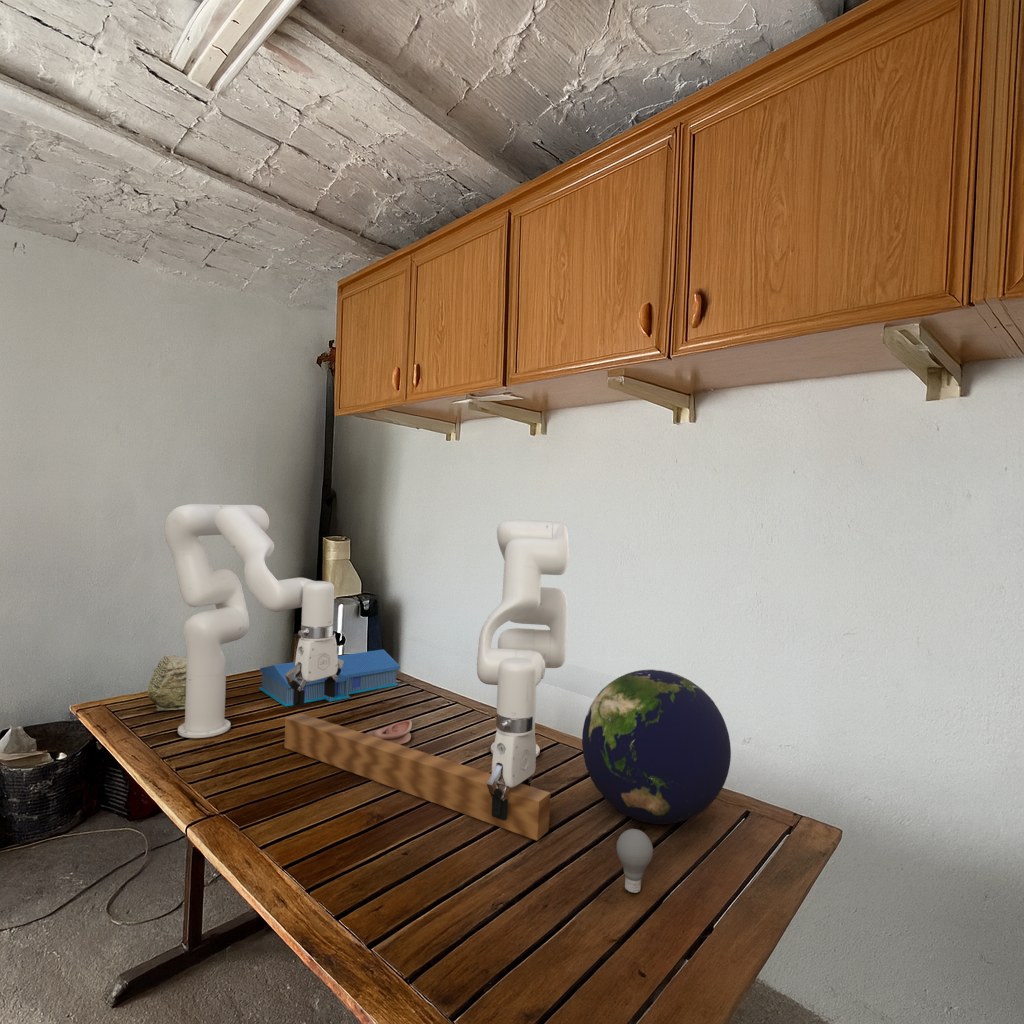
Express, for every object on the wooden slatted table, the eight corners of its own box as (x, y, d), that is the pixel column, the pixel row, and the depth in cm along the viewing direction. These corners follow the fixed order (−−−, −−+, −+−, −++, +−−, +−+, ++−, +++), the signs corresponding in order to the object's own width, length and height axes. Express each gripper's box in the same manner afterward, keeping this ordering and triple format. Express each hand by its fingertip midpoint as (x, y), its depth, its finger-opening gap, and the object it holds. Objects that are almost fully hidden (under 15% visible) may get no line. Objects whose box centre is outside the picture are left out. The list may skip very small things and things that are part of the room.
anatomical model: (352, 728, 162) (370, 714, 173) (351, 744, 162) (370, 728, 173) (400, 734, 159) (416, 719, 171) (400, 750, 159) (416, 734, 171)
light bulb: (610, 879, 108) (613, 822, 108) (644, 879, 109) (647, 822, 109) (619, 902, 102) (622, 840, 102) (655, 901, 103) (658, 840, 103)
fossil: (144, 707, 182) (145, 655, 182) (212, 696, 194) (213, 647, 194) (151, 716, 175) (153, 662, 175) (221, 703, 188) (223, 653, 188)
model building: (289, 709, 186) (291, 675, 185) (258, 688, 204) (259, 657, 204) (403, 687, 212) (405, 657, 212) (366, 670, 230) (368, 643, 230)
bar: (284, 747, 158) (285, 717, 158) (299, 742, 162) (300, 713, 162) (537, 840, 120) (538, 801, 120) (548, 830, 124) (550, 792, 124)
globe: (560, 832, 123) (567, 679, 123) (598, 773, 151) (604, 648, 150) (721, 872, 112) (730, 704, 111) (731, 800, 140) (737, 665, 139)
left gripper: (298, 640, 147) (296, 713, 147) (353, 628, 161) (351, 695, 162) (277, 635, 151) (274, 706, 151) (333, 624, 165) (330, 689, 166)
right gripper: (507, 739, 116) (503, 833, 117) (552, 714, 131) (548, 798, 131) (474, 730, 120) (470, 821, 121) (521, 707, 135) (517, 788, 135)
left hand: (314, 700), depth 156 cm, fingers open, 9 cm apart
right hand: (511, 808), depth 126 cm, fingers open, 8 cm apart
